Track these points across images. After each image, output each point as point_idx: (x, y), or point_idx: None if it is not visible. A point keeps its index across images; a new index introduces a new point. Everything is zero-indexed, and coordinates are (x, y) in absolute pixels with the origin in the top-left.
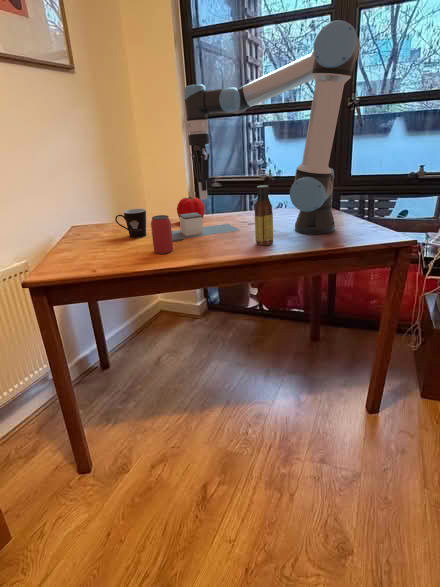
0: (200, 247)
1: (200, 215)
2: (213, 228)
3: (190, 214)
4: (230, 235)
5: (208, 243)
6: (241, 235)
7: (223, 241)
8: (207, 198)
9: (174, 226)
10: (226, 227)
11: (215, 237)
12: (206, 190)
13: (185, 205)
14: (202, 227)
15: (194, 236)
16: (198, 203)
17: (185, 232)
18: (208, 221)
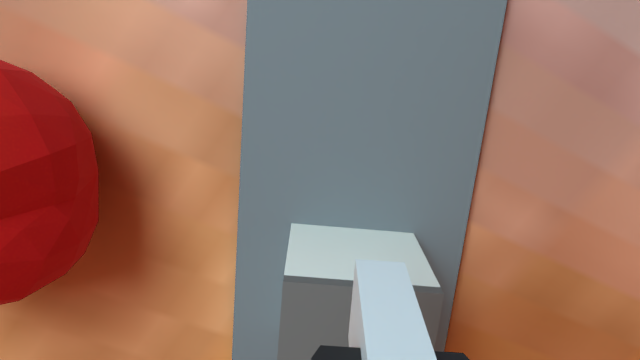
0: (637, 344)
1: (428, 301)
2: (330, 114)
3: None
4: (545, 82)
5: (602, 279)
6: (601, 15)
7: (633, 190)
8: (405, 268)
9: (68, 294)
10: (365, 13)
11: (516, 189)
12: (423, 332)
13: (12, 297)
14: (422, 252)
15: (443, 304)
16: (5, 164)
17: None
18: (35, 16)
